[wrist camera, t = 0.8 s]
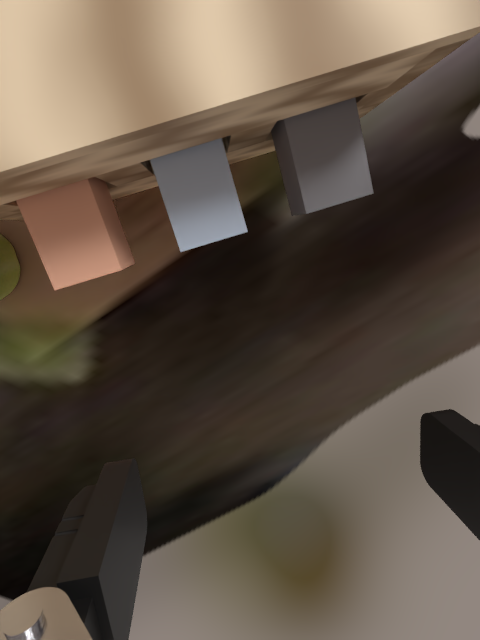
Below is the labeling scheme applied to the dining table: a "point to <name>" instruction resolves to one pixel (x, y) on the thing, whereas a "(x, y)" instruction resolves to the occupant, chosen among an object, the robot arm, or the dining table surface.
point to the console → (192, 77)
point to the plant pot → (8, 268)
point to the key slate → (199, 194)
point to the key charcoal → (322, 157)
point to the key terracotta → (76, 232)
